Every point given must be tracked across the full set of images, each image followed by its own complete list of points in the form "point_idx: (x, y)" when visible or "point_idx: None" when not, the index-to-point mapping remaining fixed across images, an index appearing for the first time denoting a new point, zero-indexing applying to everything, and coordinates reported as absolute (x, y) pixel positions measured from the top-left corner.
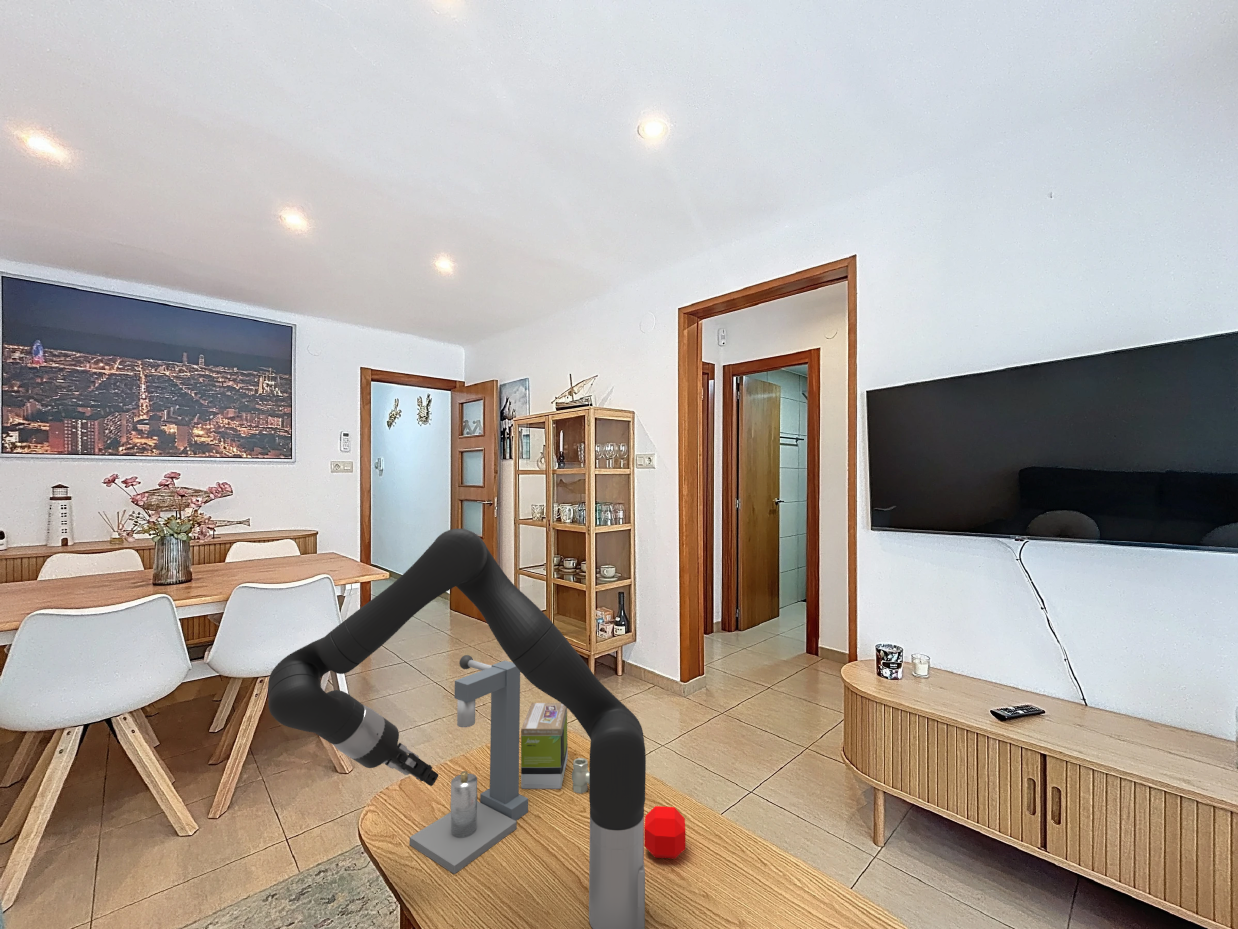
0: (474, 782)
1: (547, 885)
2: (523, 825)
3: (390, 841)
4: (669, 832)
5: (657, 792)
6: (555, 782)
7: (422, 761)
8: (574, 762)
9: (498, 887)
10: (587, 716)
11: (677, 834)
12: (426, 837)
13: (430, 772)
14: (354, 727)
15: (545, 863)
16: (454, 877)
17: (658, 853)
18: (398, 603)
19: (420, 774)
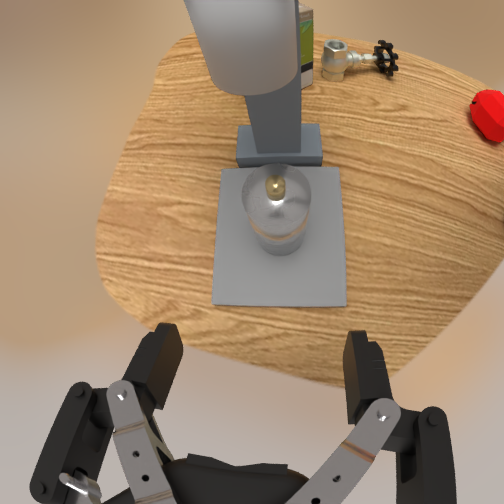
0: (306, 183)
1: (457, 237)
2: (338, 162)
3: (180, 316)
4: None
5: (404, 54)
6: (306, 80)
7: (454, 481)
8: (331, 48)
9: (417, 282)
10: None
11: None
12: (238, 286)
13: (389, 387)
14: None
15: (428, 206)
16: (349, 311)
17: (502, 140)
18: None
19: (405, 452)
